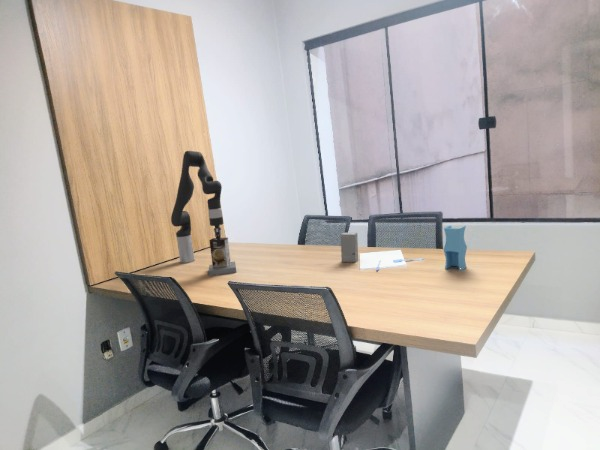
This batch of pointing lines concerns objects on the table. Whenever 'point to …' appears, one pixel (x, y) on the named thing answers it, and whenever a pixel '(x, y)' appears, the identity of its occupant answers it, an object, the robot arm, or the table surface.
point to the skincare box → (349, 247)
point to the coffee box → (220, 253)
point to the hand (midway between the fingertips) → (219, 244)
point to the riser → (222, 269)
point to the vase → (455, 247)
